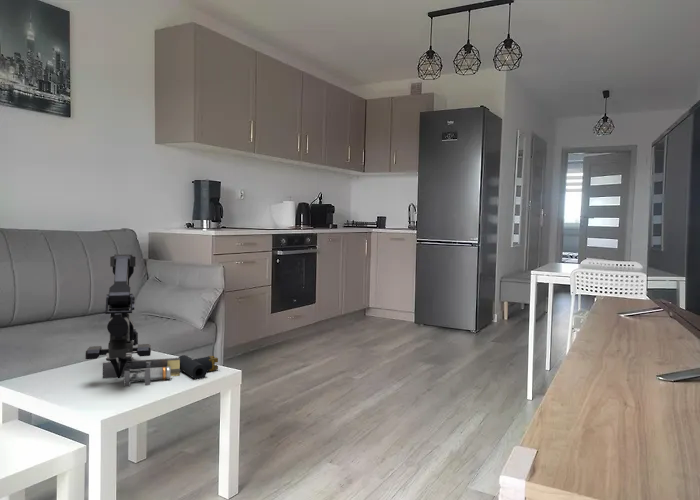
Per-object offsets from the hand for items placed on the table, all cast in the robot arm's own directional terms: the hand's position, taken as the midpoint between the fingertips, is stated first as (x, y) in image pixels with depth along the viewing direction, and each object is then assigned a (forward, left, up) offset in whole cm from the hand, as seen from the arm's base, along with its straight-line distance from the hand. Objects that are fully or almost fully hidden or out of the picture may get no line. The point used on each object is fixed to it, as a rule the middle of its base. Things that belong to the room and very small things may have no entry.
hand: (119, 377), depth 162 cm
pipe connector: (-6, +25, -2) cm, 26 cm away
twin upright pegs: (0, +6, -2) cm, 6 cm away
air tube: (0, +9, -2) cm, 9 cm away
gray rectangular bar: (-5, +7, -2) cm, 9 cm away
